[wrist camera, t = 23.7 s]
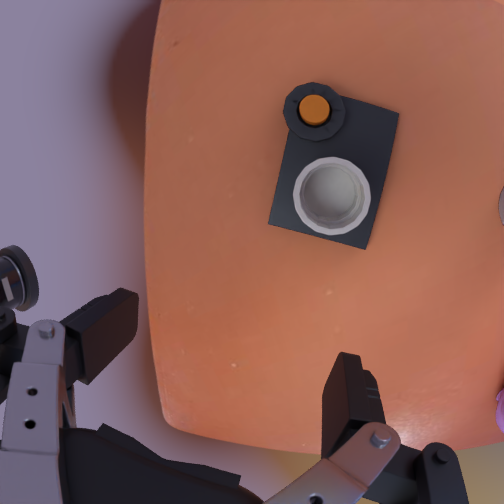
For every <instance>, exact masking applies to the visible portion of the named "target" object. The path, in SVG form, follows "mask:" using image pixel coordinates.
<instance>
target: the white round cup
mask: <svg viewBox="0 0 504 504" xmlns="http://www.w3.org/2000/svg"><path fill="white" fill-rule="evenodd" d="M293 198H294V205H295V209H296V211H297V213H298V215H299V216H300V218H301V220H302V221H303V222H304V223H305V224H306V225H307V226H309V227H310V228H311V229H313V230H314V231H316V232H319V233H323V234H326V235H338V234H345V233H347V232H349V231H350V230H352V229H354V228H356V227H357V226H358V225H359V224H360V223H361V222H362V220H363V219H364V218H365V216H366V215H367V213H368V209H369V206H370V202H371V194H370V187H369V183H368V181H367V179H366V178H365V176H364V174H363V172H362V171H361V170H360V169H359V168H358V167H356V166H355V165H354V164H352V163H351V162H350V161H348V160H344V159H341V158H337V157H328V158H320V159H317V160H316V161H314V162H312V163H311V164H309V165H307V166H306V167H305V168H304V169H303V171H302V172H301V173H300V175H299V176H298V177H297V179H296V182H295V187H294V191H293Z"/></svg>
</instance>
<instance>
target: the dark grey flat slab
mask: <svg viewBox="0 0 504 504" xmlns="http://www.w3.org/2000/svg"><path fill="white" fill-rule="evenodd" d="M309 95H319V96H321V97H323V98H324V99H325V100H326V101H327V102H328V104H329V115H328V118H327V119H326V121H325V122H324V123H322V124H320V125H311V124H308V123H306V122H305V121H304V120H303V119H302V117H301V114H300V110H299V106H300V103H301V101H302V100H303V99H304V98H305V97H306V96H309ZM283 114H284V117H285V120H286V123H287V126H288V127H289V133H288V138H287V142H286V147H285V151H284V156H283V160H282V164H281V169H280V173H279V178H278V182H277V187H276V191H275V195H274V200H273V204H272V209H271V213H270V217H269V222H268V224H270V225H274V226H278V227H282V228H286V229H290V230H294V231H297V232H301V233H305V234H309V235H313V236H316V237H320V238H324V239H328V240H331V241H335V242H339V243H342V244H346V245H350V246H353V247H357V248H361V249H364V250H366V247H367V244H368V240H369V237H370V234H371V230H372V227H373V223H374V220H375V216H376V213H377V209H378V205H379V202H380V198H381V194H382V190H383V186H384V182H385V178H386V174H387V169H388V165H389V161H390V156H391V152H392V147H393V142H394V137H395V132H396V127H397V122H398V117H399V113H397V112H394V111H391V110H388V109H385V108H382V107H378V106H375V105H372V104H369V103H365V102H362V101H358V100H355V99H351V98H348V97H344V96H340V95H338V94H337V93H336V92H335V91H334V90H333V89H331V88H330V87H329V86H327V85H323V84H318V83H314V82H311V83H307V84H304V85H300V86H297V87H296V88H295V89H294V90H293V91H292V92H291V93H290V94H289V95H288V96H287V98H286V100H285V105H284V109H283ZM328 157H337V158H341V159H344V160H348V161H350V162H351V163H352V164H354V165H355V166H356V167H358V168H359V169H360V170H361V171H362V172H363V174H364V176H365V178H366V179H367V181H368V183H369V187H370V194H371V202H370V206H369V209H368V213H367V215H366V216H365V218H364V219H363V220H362V222H361V223H360V224H359V225H358V226H357V227H356V228H354V229H352V230H350V231H349V232H347V233H345V234H338V235H326V234H323V233H319V232H316V231H314V230H313V229H311V228H310V227H309V226H307V225H306V224H305V223H304V222H303V221H302V220H301V218H300V216H299V215H298V213H297V211H296V209H295V205H294V198H293V191H294V187H295V182H296V179H297V177H298V176H299V175H300V173H301V172H302V171H303V169H304V168H305V167H306V166H307V165H309V164H311V163H312V162H314V161H316V160H317V159H320V158H328Z"/></svg>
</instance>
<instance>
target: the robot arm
mask: <svg viewBox="0 0 504 504" xmlns="http://www.w3.org/2000/svg"><path fill="white" fill-rule="evenodd" d="M25 300H26V285H25V281H24V278H23V275H22V272H21V270H20V268H19V266H18V265H17V263H16V262H15V261H14V259H13V258H11V257H10V256H7V255H4V256H2V257H0V404H1V403H2V402H4V400H6V399H7V401H6V408H5V415H4V422H3V432H2V440H0V504H356V503H357V501H358V500H359V499H360V498H361V497H363V498H366V499H369V500H372V501H375V502H378V503H379V504H469V501H468V497H467V493H466V488H465V484H464V480H463V476H462V472H461V469H460V465H459V461H458V458H457V456H456V454H455V452H454V451H453V450H452V449H451V448H450V447H449V446H447V445H445V444H442V443H438V442H434V443H430V444H428V445H427V446H426V447H425V448H424V449H423V450H422V451H420V450H417V449H414V448H411V447H408V446H405V445H402V444H401V440H400V437H399V435H398V433H397V432H396V431H395V430H394V429H393V428H391V427H390V426H388V425H386V421H385V416H384V412H383V407H382V403H381V399H380V394H379V391H378V385H377V381H376V379H375V378H374V376H373V375H372V374H371V372H370V371H368V370H363V368H362V363H361V358H360V356H359V355H354V354H349V353H345V352H340V353H339V354H338V356H337V359H336V361H335V363H334V366H333V368H332V370H331V372H330V375H329V377H328V379H327V381H326V384H325V387H324V390H323V395H322V449H321V460H320V461H319V462H317V463H316V464H315V465H314V466H312V467H311V468H310V469H309V470H308V471H306V472H305V473H304V474H303V475H301V476H300V477H299V478H297V479H296V480H295V481H293V482H292V483H291V484H289V485H288V486H286V487H285V488H284V489H282V490H281V491H280V492H278V493H277V494H275V495H274V496H272V497H271V498H269V499H268V500H267V501H265V502H264V501H263V500H261V499H260V498H259V497H258V496H256V495H255V494H254V493H252V492H251V491H249V490H248V489H246V488H244V487H242V486H240V485H239V481H240V478H241V475H237V474H233V473H229V472H226V471H222V470H219V469H215V468H212V467H209V466H206V465H200V464H192V463H185V462H178V461H171V460H166V459H164V458H161V457H160V456H158V455H157V454H156V453H154V452H153V451H151V450H150V449H148V448H147V447H145V446H144V445H143V444H141V443H140V442H138V441H137V440H136V439H134V438H133V437H130V436H128V435H126V434H124V433H122V432H120V431H118V430H116V429H114V428H112V427H110V426H108V425H106V424H104V423H103V424H102V425H101V427H99V429H98V430H97V431H96V430H92V429H86V428H77V427H76V417H75V398H74V385H73V383H74V382H75V381H76V380H79V381H81V382H82V383H84V384H86V385H89V384H90V383H91V382H92V381H93V379H94V378H95V377H96V376H97V375H98V374H99V373H100V372H101V371H102V370H103V369H104V368H105V367H106V366H107V365H108V364H109V363H110V362H111V361H112V360H113V359H114V358H115V357H116V356H117V355H118V354H119V353H120V352H121V351H122V350H123V349H124V348H125V347H126V346H127V345H128V344H129V343H130V342H131V341H132V340H133V338H134V337H135V335H136V332H137V325H138V303H139V297H138V294H137V293H135V292H132V291H129V290H126V289H124V288H118V289H117V290H115V291H114V292H112V293H111V294H109V295H104V296H100V297H97V298H94V299H93V300H91V301H90V302H88V303H87V305H86V304H85V305H84V306H82V307H81V309H78V310H77V311H75V312H73V313H72V314H70V315H69V316H67V317H66V318H64V319H63V320H61V321H60V322H57V321H54V320H40V321H37V322H35V323H34V324H32V325H31V326H30V327H29V326H26V325H22V324H19V323H16V317H15V313H14V311H13V310H12V309H14V308H16V307H18V306H21V305H22V304H24V302H25Z"/></svg>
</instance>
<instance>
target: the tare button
mask: <svg viewBox="0 0 504 504" xmlns="http://www.w3.org/2000/svg"><path fill="white" fill-rule="evenodd" d="M299 110H300V114H301V117H302V119H303V120H304V121H305V122H306V123H308V124H311V125H320V124H322V123H324V122H325V121H326V119H327V118H328V115H329V104H328V102H327V101H326V100H325V99H324V98H323V97H321V96H319V95H309V96H306V97H305V98H304V99H303V100H302V101H301V103H300V106H299Z"/></svg>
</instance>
